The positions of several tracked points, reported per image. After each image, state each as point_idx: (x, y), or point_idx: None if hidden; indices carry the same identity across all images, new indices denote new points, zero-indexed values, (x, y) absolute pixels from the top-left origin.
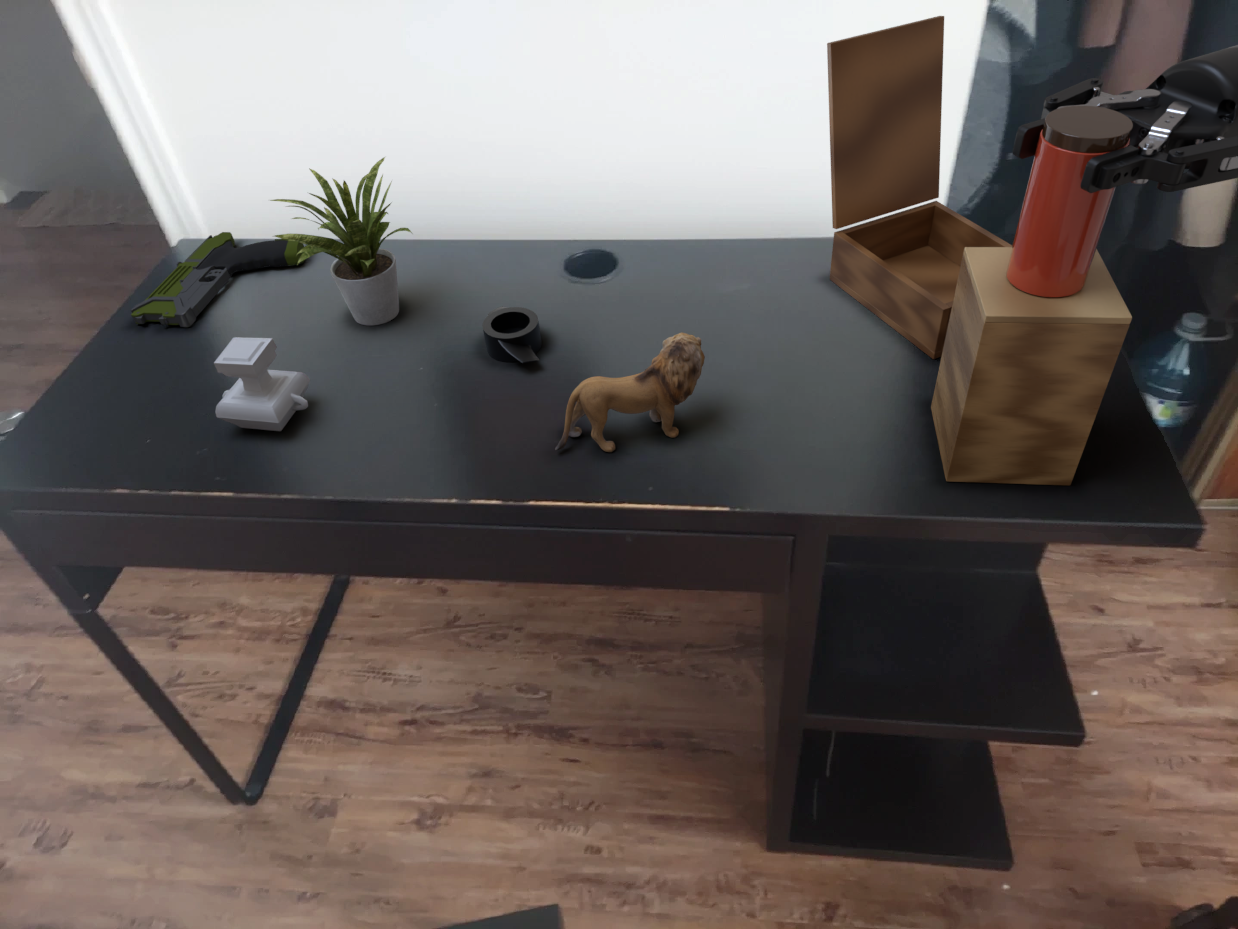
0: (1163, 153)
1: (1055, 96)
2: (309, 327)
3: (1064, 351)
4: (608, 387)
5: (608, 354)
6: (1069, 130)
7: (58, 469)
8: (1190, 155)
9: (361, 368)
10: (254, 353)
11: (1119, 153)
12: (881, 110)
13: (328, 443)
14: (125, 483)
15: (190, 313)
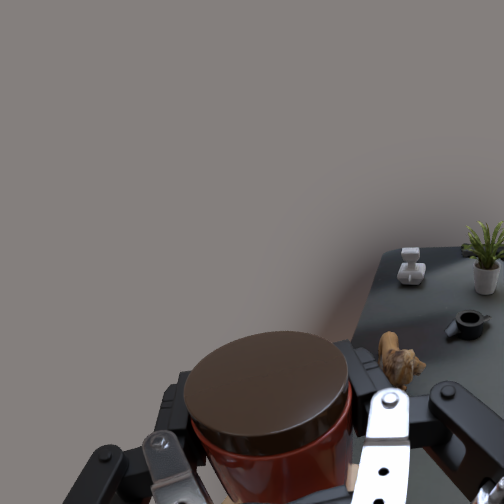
0: (142, 468)
1: (451, 391)
2: (470, 277)
3: None
4: (384, 340)
5: (464, 366)
6: (251, 344)
7: (388, 256)
8: (88, 460)
9: (444, 293)
10: (408, 252)
11: (177, 400)
12: None
13: (396, 295)
14: (380, 266)
15: (466, 252)
